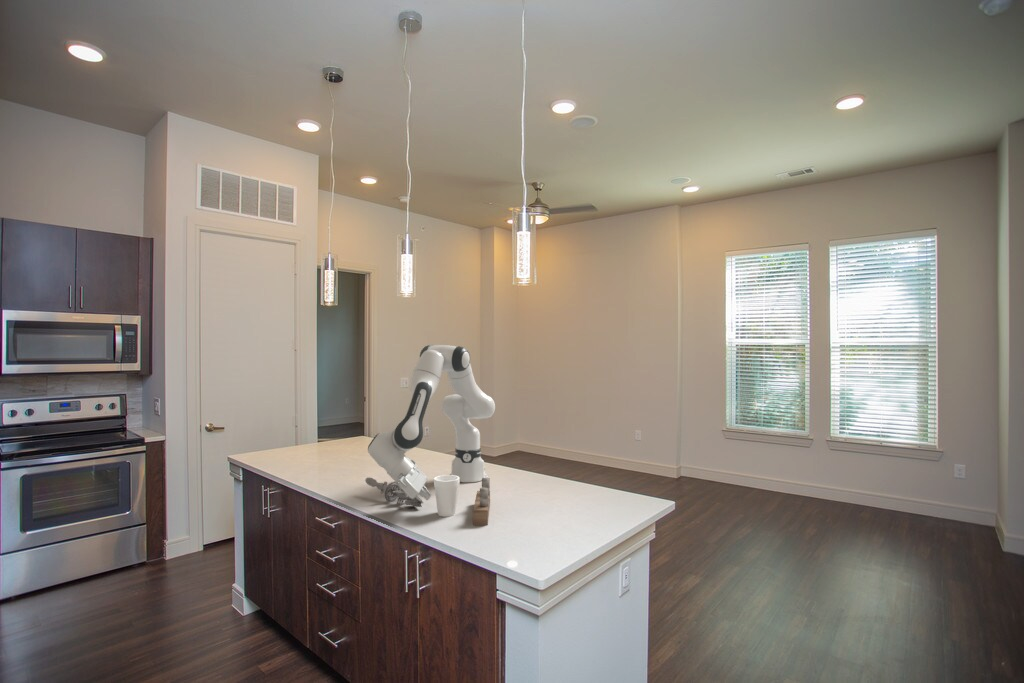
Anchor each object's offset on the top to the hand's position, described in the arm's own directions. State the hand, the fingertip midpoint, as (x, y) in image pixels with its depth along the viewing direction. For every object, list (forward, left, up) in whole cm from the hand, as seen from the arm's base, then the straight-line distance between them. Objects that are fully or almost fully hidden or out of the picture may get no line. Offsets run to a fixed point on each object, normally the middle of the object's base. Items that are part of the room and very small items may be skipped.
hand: (429, 497), depth 187 cm
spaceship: (-15, -17, -6) cm, 23 cm away
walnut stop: (0, +19, -6) cm, 20 cm away
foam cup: (0, +6, -6) cm, 9 cm away
